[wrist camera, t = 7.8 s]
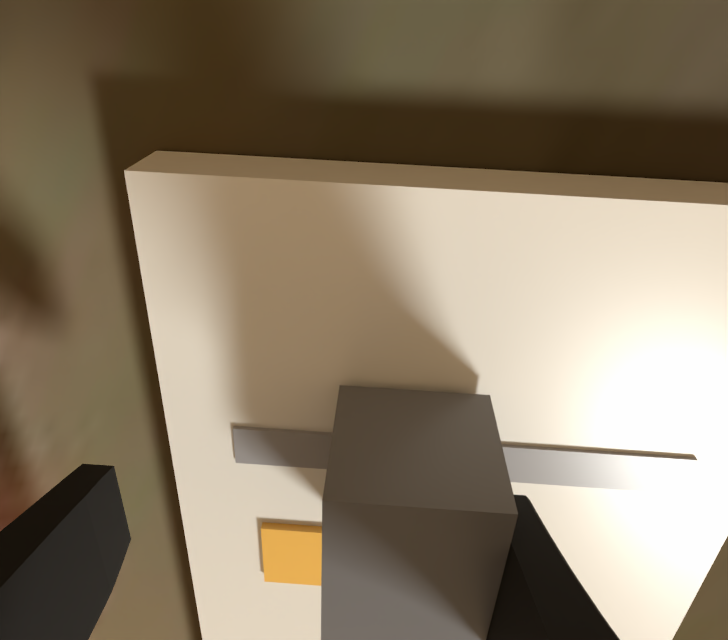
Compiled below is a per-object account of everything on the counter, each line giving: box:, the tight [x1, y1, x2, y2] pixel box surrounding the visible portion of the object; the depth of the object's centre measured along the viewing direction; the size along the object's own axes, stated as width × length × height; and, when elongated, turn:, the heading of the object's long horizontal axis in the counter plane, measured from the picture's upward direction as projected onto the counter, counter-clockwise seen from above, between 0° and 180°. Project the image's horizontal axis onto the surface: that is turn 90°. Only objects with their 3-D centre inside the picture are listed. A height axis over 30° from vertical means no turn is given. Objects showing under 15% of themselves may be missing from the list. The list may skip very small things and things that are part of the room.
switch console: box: [124, 151, 728, 640], centre depth 16 cm, size 13×24×2 cm, turn 178°
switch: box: [321, 385, 518, 640], centre depth 11 cm, size 3×4×3 cm
